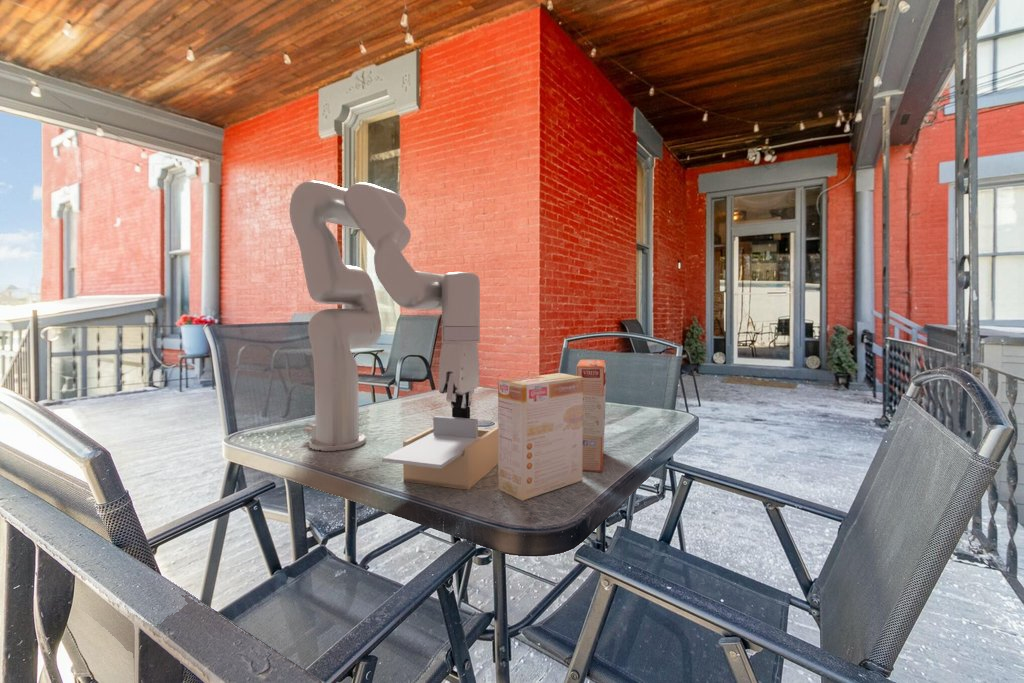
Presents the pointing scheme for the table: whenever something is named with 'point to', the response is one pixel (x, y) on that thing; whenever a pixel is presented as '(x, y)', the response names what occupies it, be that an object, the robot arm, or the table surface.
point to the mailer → (458, 463)
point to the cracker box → (593, 412)
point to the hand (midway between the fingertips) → (461, 426)
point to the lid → (438, 443)
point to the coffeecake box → (539, 434)
